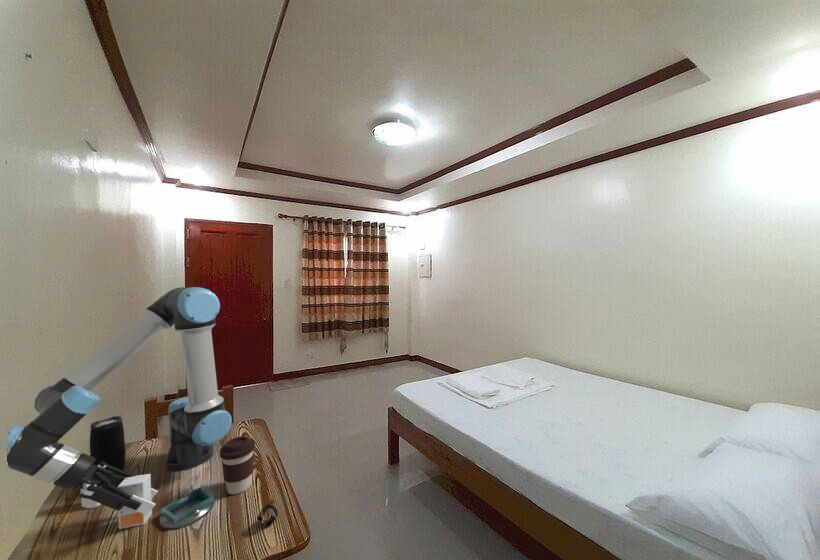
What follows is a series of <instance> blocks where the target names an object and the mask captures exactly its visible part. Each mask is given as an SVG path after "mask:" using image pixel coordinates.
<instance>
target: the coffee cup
mask: <svg viewBox="0 0 820 560" xmlns="http://www.w3.org/2000/svg"><path fill="white" fill-rule="evenodd" d="M255 448H256V441H255V440H254V439H252V438H250V437H249V436H246V435H242V436H241V435H240V436H237V437H233V438H231V439H229V440H228V441H226V443H225V444H224V445H223V446H222V447H221V448H220V450H219V457H220V458H221V459H222V460H221V461H222V462H221V464H222V473H223V480H224V482H225V491H226V493H227V494H230V495H239V494H241V493H243V492H246V491H248V489H249V488H250V487H251V486H252V483H253V472H254V456H255V455H254V454H255V453H254V450H255Z"/></svg>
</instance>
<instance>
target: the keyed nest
mask: <svg viewBox="0 0 820 560" xmlns="http://www.w3.org/2000/svg"><path fill="white" fill-rule="evenodd" d="M215 499H216V498H215V496H214V494H212V492H211V493H210V492H207V491H206V490H204V489H202V488H201V487H198V488H196V489H194V490H193V491H191V492H189V493H188V494H185V495H183V496H182V497H180V498H178V499H176V500H174V501H173V502H171V503H169V504H168V505H166V506H164V507H162V508H161V509H160V510H161V511H160V513H161V514H160V516H159V525H160V527H161V528H162V529H164V530H169V531H170V529H171V530H172V529H173V530H179V529H182V528H186V527H188V526H192V525H194V524H195V523H196V522H198V521H200V520H202V519H203V518H205V516H207V515H208V514H209V513H211V511H212V509H213V508H214V506H215Z"/></svg>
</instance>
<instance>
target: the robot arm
mask: <svg viewBox="0 0 820 560" xmlns="http://www.w3.org/2000/svg"><path fill="white" fill-rule="evenodd" d="M220 308H221V303H220V300H219V298H218V296H217V295H216V294H215V293H214V292H212V291H211V290H210V289H207V288H203V287H199V286H197V287H196V286H191V287H176V288H173V289H171V290H169V291H167V292H166V293H165V294H163V295H162V296H160V297H159V298H158V299H157V300H155V301H154V302H153V303H152V304H151V305H149V306H147V307H146V308H145V309H144V311H143V315H142V316H140V317H139V318H138V319H136V320H135V321H134V322H133V323H131V324H130V325H129V326H127V327H126V328H125V329H123V331H121V332H120V333H119V334H117V335H116V336H114V338H113V339H111V340H110V341H108V342H107V343H106V344H104V345H103V346H102V347H100V348H99V349H98V350H97V351H96V352H94V353H93V354H92V355H91V356H89V357H88V358H87V359H86V360H84V361H83V362H82V363H80V364H78V366H77V367H75V368H74V369H73V370H71V371H70V372H69V373H67V375H65V376H64V377H62V378H61V379H60V380H58V381H57V382H55V384H53V385H48V386H47V387H44V388H43V389H41V390H40V391H38V393H39V394H38V393H37V394H38V395H37V394H36V395H37V397H36V399H35V405H34V404H33V405H34V408H35V410H36V411H37V413H38V415H37V417H35V418H34V419H33V420H32V421H30V422H29V423H28V424H26V426H25V425H19V424H15V425H13V426H12V427H10V428H9V429H8V430H9V431H8V430H7V431H8V436H7V439H8V440H7V462H8V466H9V468H8V469H11V470H14V471H17V472H19V473H22V474H25V475H28V476H30V477H33V478H35V480H36V481H39V480H40V481H43V482H46V483H49V484H50V483H52V482H53V486H56V487H58V488H61V489H62V490H63V489H64V490H69V489H71V488H73V487H74V486H77V487H78V488H79V489H80V490H81V489H83V492H82V493H81V492H80V494H79V497H80V499H81V498H86V499H91V500H93V501H95V502H98V503H100V504H101V505H102V506H106V507H108V508H110V509H113V510H115V511H117V512H118V510H121V509H122V508H123V506H125V507H127V508H130V509H132V510H135V511H138V512H140V513H143V514H145V515H147V514H148V513H149V512H150V511H151V509H152V510H153V509H154V507H155V506H156V503H155V502H153V501H151V502H150V501H148V500H146V499H143V498H141V497H138V496H136V495H132V496H130V495H128V494H127V493H125V492H123V491H122V490H120V489H119V488H117V487H118V486H119V485H120V483H121V482H122V481H123V480H124V479H125V478H128V477H134V476H135V475H134V474H132V473H130V472H128V471H127V472H126V471H125V470H124V471H122V470H120V469H117V468H115V467H112V466H110V465H108V464H107V463H105V462H101V463H100V464H99V465H98V466H97V465H93V464H94V462H95V458H94V457H92V456H90V454H87V453H85V452H84V453H80V450H78V449H76V448H73V447H71V446H69V445H66V444H64V443H62V442H59V441H60V439H62V438H63V437H64V436H65V435H66V434H67V433H68V432H69V431H70V430H72V429H73V428H74V427H75V425H77V424H78V423H79V422H80V421H81V420H82V419H83V418H85V416H86V415H87V414H89V413H90V412H92V409H94V408H95V406H96V405H98V403H99V402H100V401H101V398H100V396H99V395H98V394H95V393H94V392H92V390H93V389H95V388H96V387H97V386H98V385H100V384H101V383H102V382H103V381H104V380H105V379H106V378H108V376H110V375H111V374H112V373H113V372H115V371H116V370H117V369H118V368H120V367H121V366H122V365H123V364H124V363H125V362H127V360H129V359H130V358H131V357H132V356H134V355H135V354H136V353H137V352H138V351H140V350H141V349H142V348H144V346H145V345H147V343H149V342H150V341H151V340H153V339H154V338H155V337H157V336H158V335H159V334H160V333H161V332H162V331H163V330H169V329H171V328H172V327H173V325H174V331H176V332H178V333H179V334H180V335H181V344H182V353H183V362H184V372H185V377H186V378H185V380H186V388H187V396H184V397H181V398H177V399H176V400H173V401H171V403H170V404H169V405H168V412H167V414H168V427H169V428H168V429H169V447H168V449H167V453H166V455H165V458H164V468H165V469H166V470H168V471H170V472H179V471H185V470H189V469H192V468H195V467H197V466H200V465H202V464H204V463H205V462H207V461H209V460H210V459H211V458H212V457H213V456H214V454H215V445H214V444H217V443H218V442H220V441H221V440H222V439H224V438H225V436H226V435H227V433H228V432H229V431H230V429H231V426H232V423H233V421H232V419H233V418H232V415H231V413H229V411H227V410H225V409H226V408H225V400H224V397H223V396H221V395H220V394H219V391H218V382H217V381H218V380H217V372H216V362H215V353H214V344H213V335H212V330H213V328H214V327H215V326H216V325H217V322H216V317H217V315H218V314H219V312H220ZM101 486H102V487H101ZM158 492H159V490H156V489H154V488H153V487H151V500H152V499H153V498H154V497H155V496H156V495H157V494H158Z"/></svg>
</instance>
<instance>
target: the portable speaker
mask: <svg viewBox="0 0 820 560" xmlns="http://www.w3.org/2000/svg"><path fill="white" fill-rule="evenodd" d="M89 432H90V434H89V456H92V457H94V458H95V462H94V464H93V465H97V466H98V465H99V464H100V463H101V462H105V463H107V464H108V465H110V466H112V467H115V468H117V469H120V470H122V471H125V464H126V442H125V440H126V439H125V430H124V423H123V418H122V416H120V415H118V416H117V415H115V416H112V417H109V418H105V419H102V420H97V421H94V422H92V423H91V424H90V431H89Z"/></svg>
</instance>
